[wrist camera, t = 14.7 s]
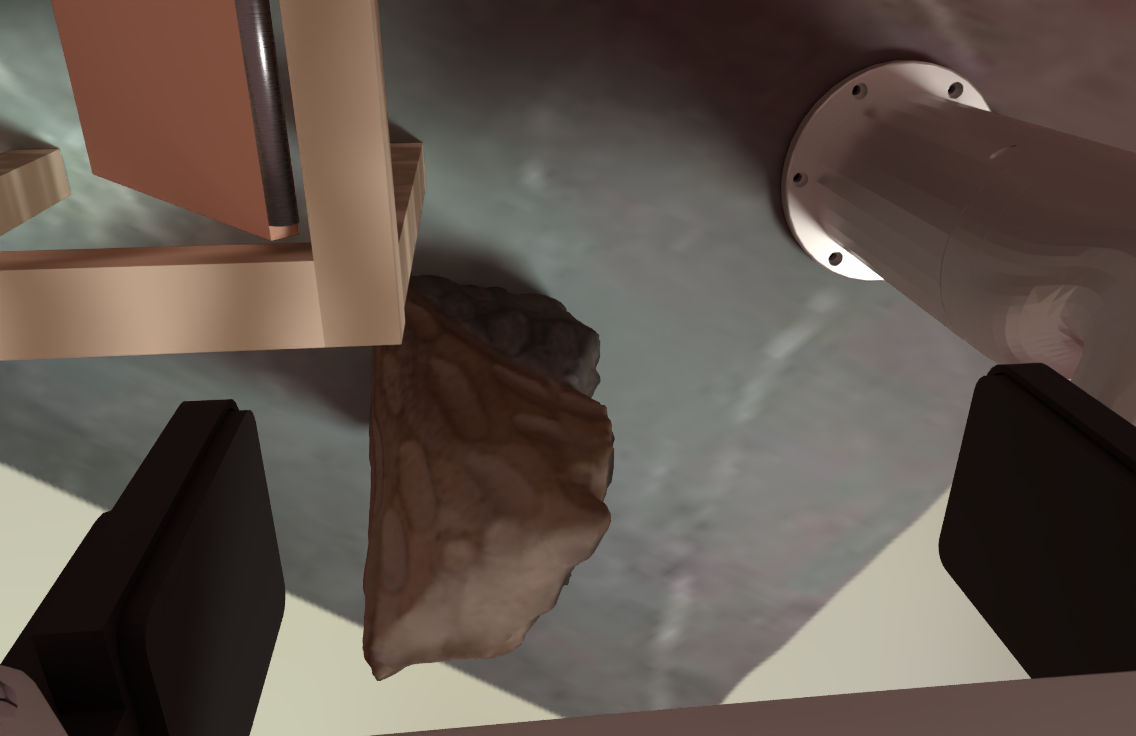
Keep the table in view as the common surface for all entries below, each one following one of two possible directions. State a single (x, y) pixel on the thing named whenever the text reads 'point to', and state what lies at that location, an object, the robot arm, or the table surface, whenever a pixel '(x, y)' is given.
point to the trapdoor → (184, 105)
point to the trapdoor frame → (242, 272)
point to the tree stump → (479, 472)
